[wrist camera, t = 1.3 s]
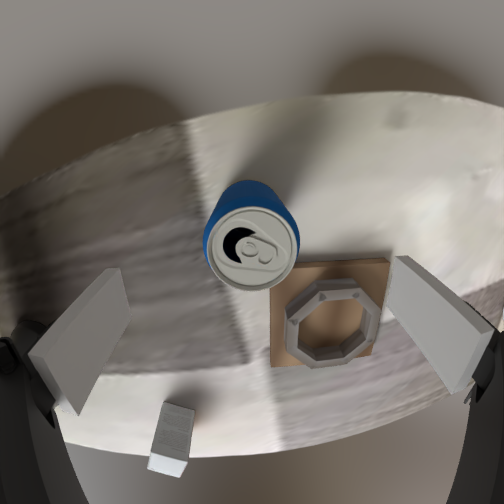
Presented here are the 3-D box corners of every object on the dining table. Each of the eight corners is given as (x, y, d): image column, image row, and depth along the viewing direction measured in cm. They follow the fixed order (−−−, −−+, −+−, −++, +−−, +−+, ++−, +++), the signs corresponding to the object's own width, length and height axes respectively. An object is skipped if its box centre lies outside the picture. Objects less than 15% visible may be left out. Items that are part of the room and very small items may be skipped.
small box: (187, 431, 42) (180, 478, 32) (157, 423, 41) (146, 469, 31) (196, 409, 39) (189, 462, 29) (163, 400, 38) (150, 452, 29)
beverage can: (232, 169, 27) (223, 182, 16) (290, 195, 28) (321, 225, 17) (207, 226, 29) (186, 276, 18) (264, 249, 30) (276, 310, 19)
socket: (270, 359, 35) (272, 380, 32) (269, 264, 31) (272, 280, 27) (367, 348, 36) (376, 366, 32) (384, 257, 31) (400, 271, 27)
